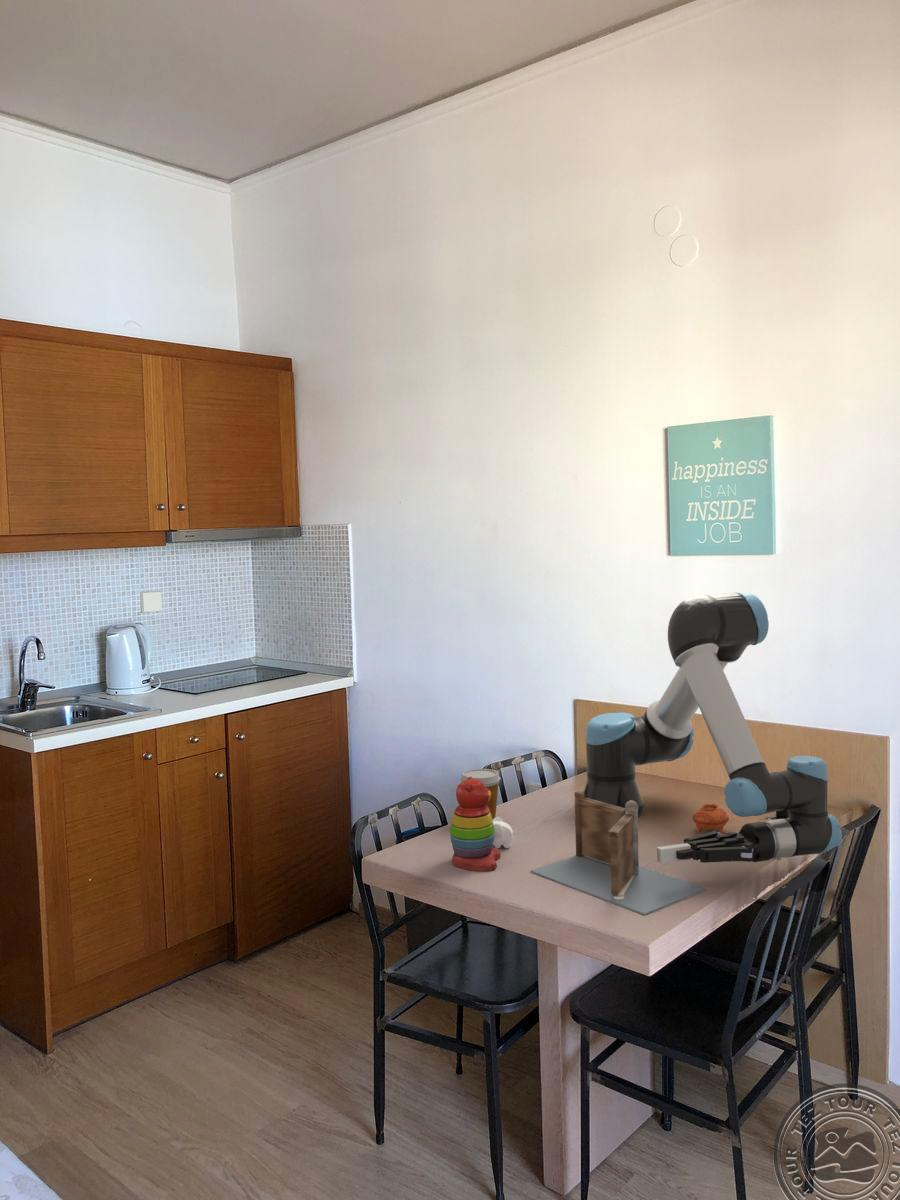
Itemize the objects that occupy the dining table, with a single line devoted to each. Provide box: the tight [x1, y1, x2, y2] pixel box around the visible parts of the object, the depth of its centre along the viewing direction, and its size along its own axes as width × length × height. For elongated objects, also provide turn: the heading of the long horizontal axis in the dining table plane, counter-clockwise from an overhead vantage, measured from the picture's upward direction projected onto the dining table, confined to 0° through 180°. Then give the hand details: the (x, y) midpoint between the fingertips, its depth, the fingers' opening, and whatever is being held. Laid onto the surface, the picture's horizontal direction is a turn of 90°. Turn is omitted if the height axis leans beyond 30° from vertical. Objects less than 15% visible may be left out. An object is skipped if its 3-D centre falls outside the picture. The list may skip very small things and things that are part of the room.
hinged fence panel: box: [609, 814, 634, 895], centre depth 190 cm, size 12×2×12 cm, turn 155°
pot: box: [692, 803, 730, 835], centre depth 222 cm, size 8×8×7 cm
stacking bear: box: [449, 777, 501, 872], centre depth 207 cm, size 11×10×18 cm
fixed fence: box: [574, 791, 640, 875], centre depth 203 cm, size 17×3×15 cm, turn 38°
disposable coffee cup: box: [460, 768, 501, 820], centre depth 234 cm, size 10×10×12 cm
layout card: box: [530, 855, 708, 916], centre depth 195 cm, size 30×18×1 cm, turn 38°
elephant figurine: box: [492, 816, 518, 849], centre depth 217 cm, size 7×8×6 cm
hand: (658, 855), depth 189 cm, fingers closed
